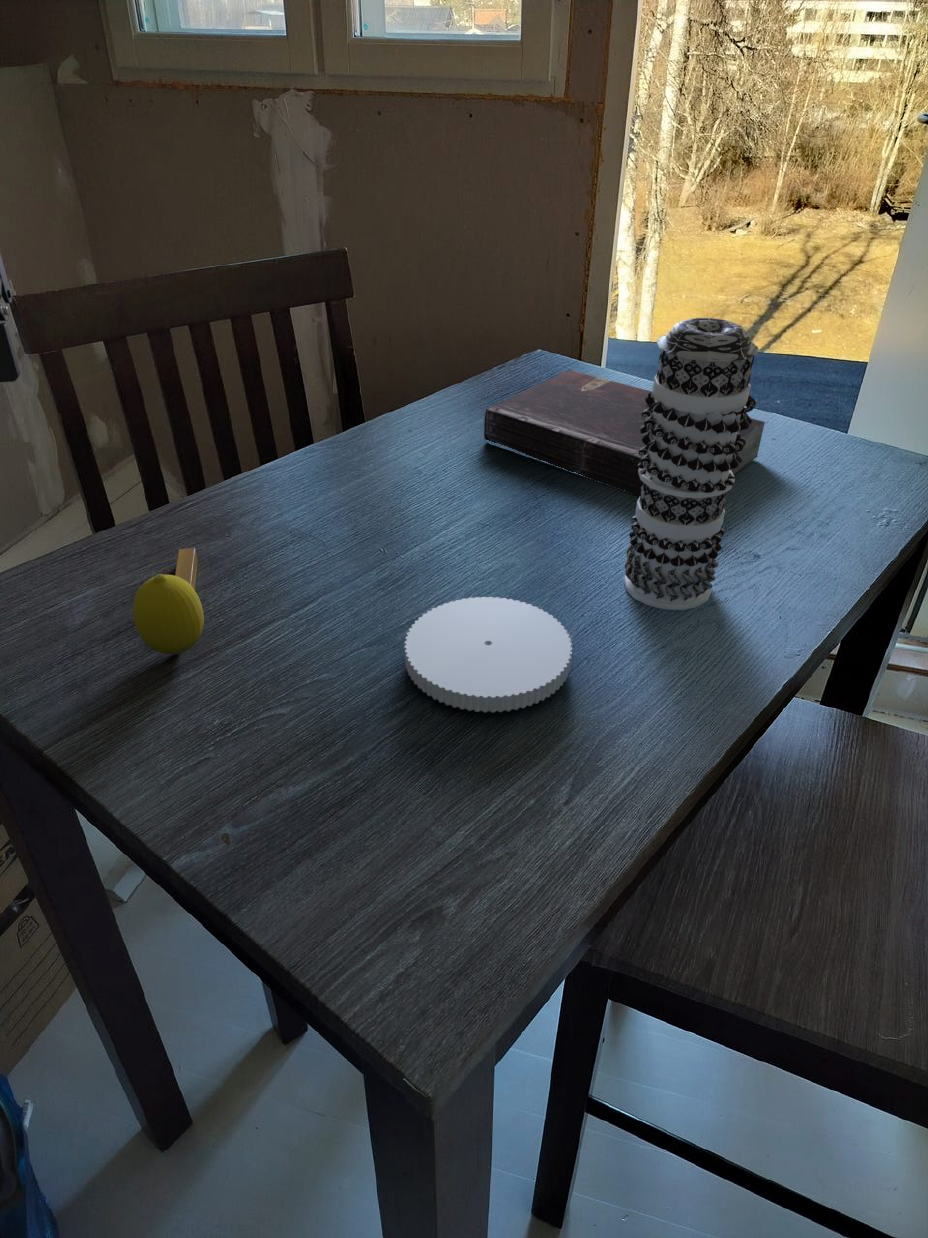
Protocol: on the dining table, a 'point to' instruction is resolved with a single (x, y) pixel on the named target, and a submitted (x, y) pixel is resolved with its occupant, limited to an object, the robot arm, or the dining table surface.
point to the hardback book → (586, 427)
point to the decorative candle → (689, 461)
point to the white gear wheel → (488, 654)
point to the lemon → (168, 614)
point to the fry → (187, 565)
